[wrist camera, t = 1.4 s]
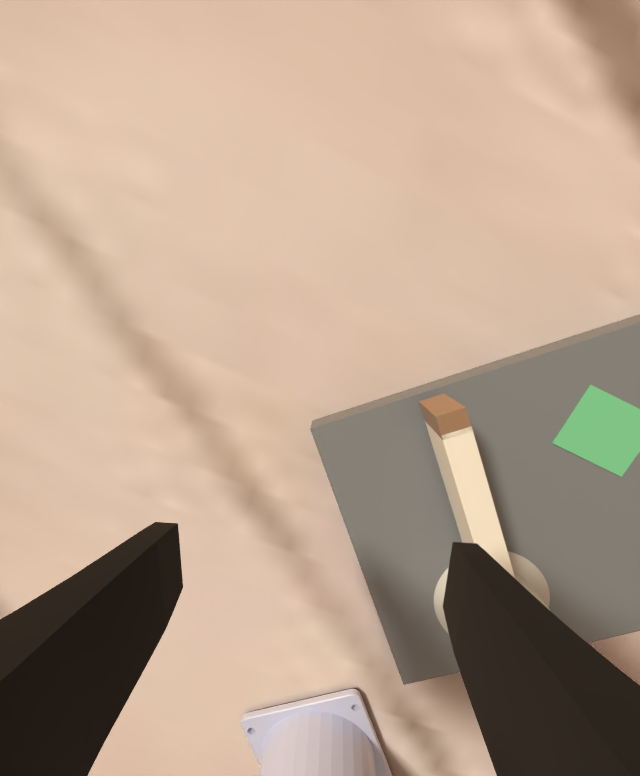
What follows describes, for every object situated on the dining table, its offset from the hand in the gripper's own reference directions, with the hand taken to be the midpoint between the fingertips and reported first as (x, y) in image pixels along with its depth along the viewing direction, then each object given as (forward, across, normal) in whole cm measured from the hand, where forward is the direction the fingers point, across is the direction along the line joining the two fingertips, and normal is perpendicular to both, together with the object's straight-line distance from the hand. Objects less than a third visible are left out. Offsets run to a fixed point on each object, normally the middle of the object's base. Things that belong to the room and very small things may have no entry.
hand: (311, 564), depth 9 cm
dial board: (+10, -12, +3) cm, 15 cm away
